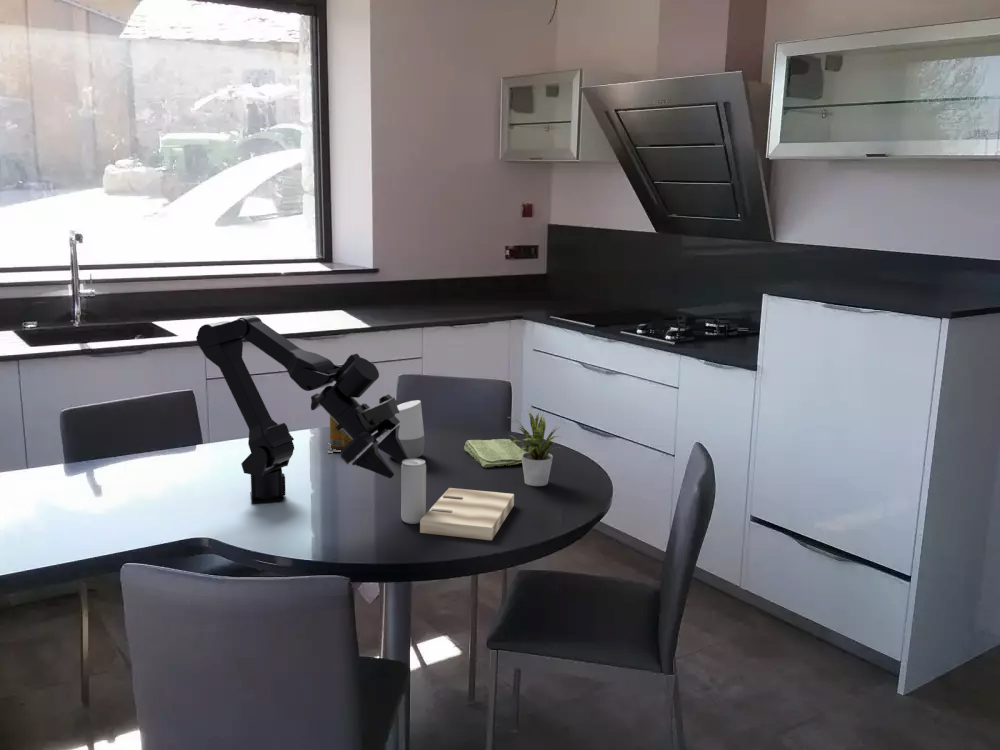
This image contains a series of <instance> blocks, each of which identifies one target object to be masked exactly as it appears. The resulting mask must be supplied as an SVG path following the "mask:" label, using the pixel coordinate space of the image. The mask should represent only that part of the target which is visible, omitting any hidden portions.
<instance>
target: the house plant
mask: <svg viewBox="0 0 1000 750" xmlns="http://www.w3.org/2000/svg"><path fill="white" fill-rule="evenodd" d="M527 412H528V415H529V422H530V428H531V432H532V434H530V433H529V432H528V431H527V429H525V428H524V426H523V425H522V424H521V422H520V421H518V419H515V418H513V417H510V416H508V418H509V419H513V420H514V421H513V420H512V422H514V423H517V424H519V425H520V426H518V425H517V427H518V428H519V430H520V432H521V433H523V435H524V436H525V438H522V439H521V440H519V439H518V438H516V437H515V436H512V435H507V436H509V437H512V439H513V438H514V440H511V441H512V442H511V443H518V444H519V445H521V451H522V450H524V451H526V453H523V454H522V455H521V457H522V464H521V465H522V469H523V470H522V471H523V478H524V484H526V485H527V486H531V487H543V486H547V485H548V483H549V477H550V473H551V470H552V469H551V468H552V463H553V459H554V458H553V457H554V456H553V455H552V454H551V453H550V452H551V451H552V450H554V449H558V448H559V449H561V446H556V447H552V446H553V445H555V443H554V442H553V441H552V440H554V439H555V438H560V436H559V435H554V433H555V432H556V431H557V430H558V429H560V428H561V427H563V425H561V426H560V427H558V425H556V426H555V427H554V428H553V429H552V431H551V432H550V433H549V434H548V436H547V438H546V439H545V440H544V438H545V432H546V420H545V417H543V416H544V415H545V413H544V414H542V415H541V414H540V413H539V412H538V413H537V414H536V416H535V417H534V416H533V414H532V413H531V412H530V411H529V410H527ZM553 435H554V436H553ZM525 441H526V442H528V444H529V445H528V444H527V443H526V442H525ZM511 443H510V444H511ZM510 444H509V445H510ZM551 447H552V448H551Z"/></svg>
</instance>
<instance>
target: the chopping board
mask: <svg viewBox="0 0 1000 750" xmlns="http://www.w3.org/2000/svg"><path fill="white" fill-rule="evenodd" d="M514 505H515V494H514V493H508V492H507V493H506V492H497V491H487V490H475V489H465V488H454V487H448V489H447V490H446V491H444V493H443V494H442V495H441V496H440V497H439V498H438V499H437V500H436V502H435V503H434V504H433V505H432V506H431V507H430V509H429V510H428V511H427V512H426V513H425V515H424V516H423V518H422V519H421V520H420V523H419V533H420V534H429V535H437V536H438V535H440V536H448V537H454V538H455V537H458V538H465V539H466V538H467V539H475V540H485V541H493V539H494V538H495V536H496V535H497V533H498V531H499V530H500V528H501V527H502V525H503V523H504V522H505V520H506V519H507V517H508V515H509V513H511V510H512V509H513V507H514Z"/></svg>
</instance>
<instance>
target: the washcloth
mask: <svg viewBox="0 0 1000 750" xmlns="http://www.w3.org/2000/svg"><path fill="white" fill-rule="evenodd" d="M512 441H513V440H511V439H510V438H508V439H506V438H501V439H500V438H497V439H484V440H483V439H469V440H466V441H465V443H464V444H465V445H464V446H463V447H464V448H463V450H464V451H465V452H466V453H468V455H469V454H470V455H469V456H471V458H473V457H474V458H473V459H474V460H475V461H476V462H478V463H479V464H480V465H481V466H482V467H483V468H485V469H487V468H495V467H494V466H498V467H506V466H507V465H508V466H513V465H520V464H519V463H522V457H521V455H522V454H523V453H526V452H527V450H525V449H524V450H522V451H521V449H522V447H521V446H518V444H517V443H516V442H514V443H511V442H512ZM510 443H511V444H510ZM509 444H510V445H509ZM504 465H506V466H504Z"/></svg>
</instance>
